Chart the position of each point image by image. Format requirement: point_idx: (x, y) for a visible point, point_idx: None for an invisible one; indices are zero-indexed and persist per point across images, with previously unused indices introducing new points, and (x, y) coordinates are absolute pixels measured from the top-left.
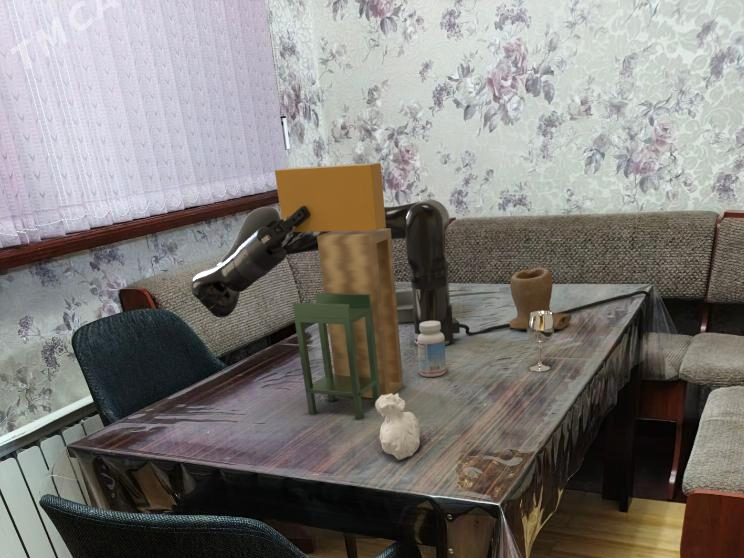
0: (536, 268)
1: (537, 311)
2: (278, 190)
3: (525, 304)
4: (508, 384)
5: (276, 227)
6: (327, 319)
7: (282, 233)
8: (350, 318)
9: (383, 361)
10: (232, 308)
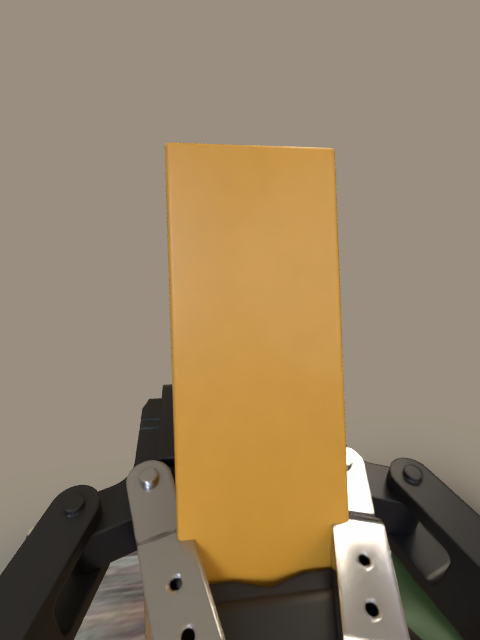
0: None
1: (28, 535)
2: (336, 293)
3: None
4: (131, 623)
5: (445, 539)
6: None
7: (428, 538)
8: (393, 554)
9: None
10: None
